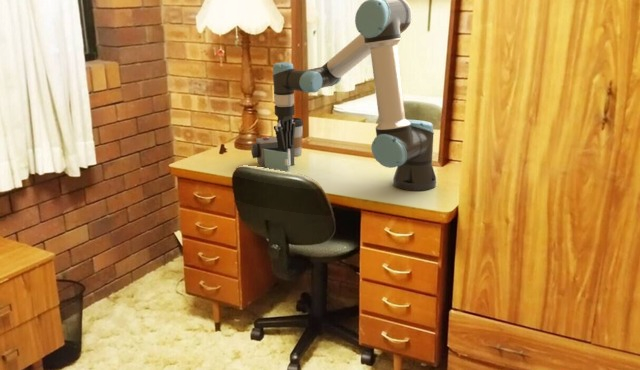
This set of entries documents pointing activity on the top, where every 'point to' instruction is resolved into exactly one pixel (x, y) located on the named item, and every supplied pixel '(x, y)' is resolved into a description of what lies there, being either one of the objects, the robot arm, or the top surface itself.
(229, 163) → the top surface
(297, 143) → the coffee cup
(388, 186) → the top surface
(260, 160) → the camera body
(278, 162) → the side door
